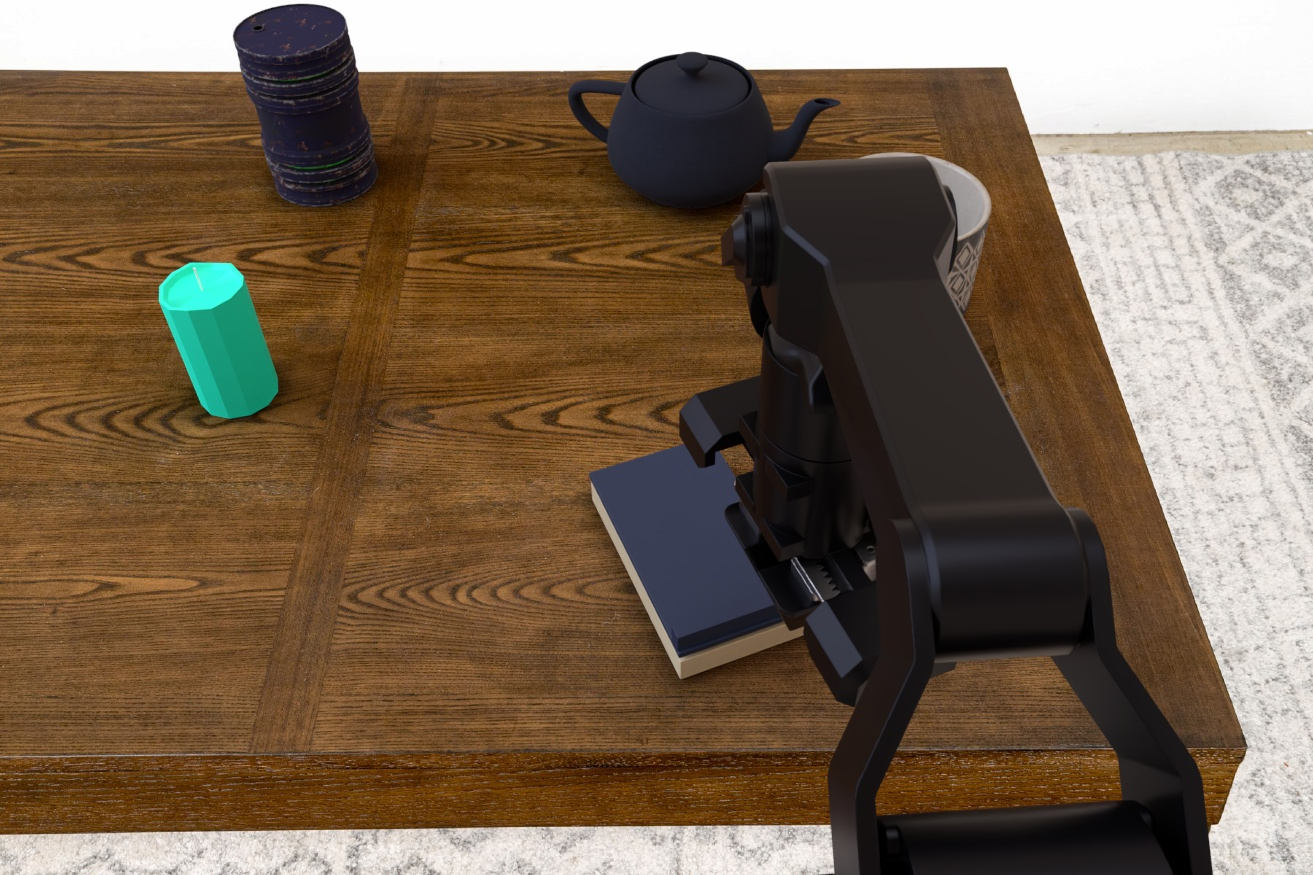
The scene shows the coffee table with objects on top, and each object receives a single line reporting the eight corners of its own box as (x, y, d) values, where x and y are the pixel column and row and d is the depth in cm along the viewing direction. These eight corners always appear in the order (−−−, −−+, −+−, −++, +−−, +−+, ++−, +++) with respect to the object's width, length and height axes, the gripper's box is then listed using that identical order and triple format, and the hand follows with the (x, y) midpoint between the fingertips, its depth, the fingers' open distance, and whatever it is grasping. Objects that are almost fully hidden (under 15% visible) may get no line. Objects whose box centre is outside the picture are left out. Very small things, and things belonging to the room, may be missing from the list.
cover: (814, 610, 72) (817, 592, 71) (679, 658, 70) (679, 641, 69) (710, 440, 83) (710, 421, 81) (589, 477, 80) (587, 458, 79)
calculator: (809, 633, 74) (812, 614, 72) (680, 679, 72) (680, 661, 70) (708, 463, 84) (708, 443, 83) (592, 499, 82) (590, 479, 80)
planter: (954, 366, 91) (979, 259, 84) (798, 333, 94) (809, 228, 87) (976, 271, 100) (1001, 167, 92) (831, 244, 102) (844, 141, 95)
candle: (268, 418, 88) (224, 295, 79) (190, 418, 88) (137, 295, 79) (287, 365, 92) (247, 242, 83) (212, 365, 92) (164, 242, 84)
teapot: (548, 205, 107) (537, 85, 98) (596, 119, 117) (590, 3, 109) (816, 245, 102) (830, 122, 94) (842, 151, 113) (856, 33, 104)
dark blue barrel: (390, 151, 114) (361, 5, 103) (364, 209, 107) (330, 59, 96) (291, 147, 114) (252, 1, 104) (259, 205, 107) (213, 55, 97)
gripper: (1107, 511, 47) (1023, 714, 58) (876, 255, 59) (843, 463, 70) (865, 597, 44) (826, 793, 55) (675, 309, 56) (674, 517, 67)
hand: (795, 623), depth 62 cm, fingers closed
